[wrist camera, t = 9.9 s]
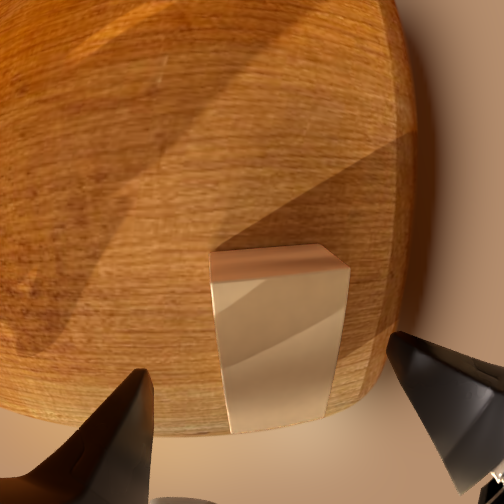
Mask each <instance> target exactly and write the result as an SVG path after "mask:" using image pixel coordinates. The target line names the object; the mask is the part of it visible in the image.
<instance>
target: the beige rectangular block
mask: <svg viewBox="0 0 504 504" xmlns="http://www.w3.org/2000/svg"><path fill="white" fill-rule="evenodd" d="M209 270H210V287H211V297H212V306H213V314H214V323H215V331H216V339H217V347H218V354H219V362H220V369H221V376H222V383H223V389H224V396H225V402H226V408H227V415H228V421H229V426H230V432H231V434H237V433H246V432H253V431H260V430H267V429H273V428H279V427H284V426H289V425H294V424H299V423H303V422H308V421H312V420H316V419H320V418H324V416H325V412H326V408H327V404H328V400H329V396H330V392H331V387H332V383H333V378H334V374H335V369H336V364H337V359H338V353H339V348H340V342H341V337H342V331H343V324H344V318H345V311H346V304H347V297H348V289H349V280H350V271H351V269H350V267H349V266H347V265H346V264H345V263H344V262H342V261H341V260H340V259H339V258H337V257H336V256H335V255H334V254H332V253H331V252H330V251H328V250H327V249H326V248H325V247H323V246H322V245H321V244H319V243H318V244H305V245H293V246H280V247H268V248H255V249H243V250H231V251H219V252H210V253H209Z"/></svg>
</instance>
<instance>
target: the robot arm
mask: <svg viewBox="0 0 504 504" xmlns="http://www.w3.org/2000/svg"><path fill="white" fill-rule="evenodd" d="M386 354H387V356H388V359H389V361H390V363H391V365H392V367H393V369H394V371H395V374H396V376H397V378H398V380H399V382H400V384H401V386H402V388H403V389H404V391H405V393H406V395H407V396H408V398H409V400H410V402H411V403H412V405H413V406H414V408H415V410H416V412H417V413H418V416H419V417H420V419H421V421H422V423H423V425H424V426H425V428H426V430H427V432H428V433H429V435H430V437H431V439H432V441H433V443H434V445H435V447H436V449H437V451H438V453H439V454H440V456H441V459H442V461H443V463H444V465H445V467H446V469H447V471H448V473H449V475H450V477H451V479H452V481H453V483H454V485H455V487H456V490H457V492H458V494H459V495H460V496H461V495H462V494H464V493H465V492H466V491H468V490H469V489H470V488H472V487H473V486H474V485H475V484H476V483H477V482H479V481H480V480H481V479H482V478H484V477H485V476H486V475H487V474H488V473H489V472H490V473H491V474H492V475H493V478H492V479H491V480H490V481H489V482H488V483H487V484H486V485H485V486H484V487H482V488H481V492H480V497H479V502H478V504H504V367H501V366H498V365H494V364H490V363H487V362H484V361H481V360H478V359H475V358H473V357H472V358H471V357H469V356H467V355H464V354H461V353H459V352H456V351H453V350H450V349H447V348H445V347H442V346H439V345H436V344H434V343H431V342H429V341H426V340H423V339H421V338H418V337H415V336H413V335H410V334H407V333H405V332H402V331H397V332H394V333H392V334H391V335H390V338H389V342H388V345H387V349H386ZM153 433H154V387H153V384H152V381H151V378H150V375H149V372H148V370H147V369H145V368H142V369H134V370H133V371H132V373H131V374H130V375H129V376H128V377H127V378H126V379H125V380H124V381H123V382H122V383H121V384H120V385H119V386H118V387H117V388H116V389H115V390H114V392H113V393H112V394H111V395H110V396H109V397H108V398H107V399H106V400H105V401H104V402H103V403H102V404H101V405H100V406H99V407H98V408H97V410H96V411H95V412H94V413H93V414H92V415H91V416H90V417H89V418H88V419H87V420H86V421H85V422H84V423H83V424H82V425H81V427H80V428H79V430H77V431H76V432H75V433H74V434H73V435H72V436H71V437H70V438H69V439H68V440H67V441H66V442H65V443H64V444H63V445H62V446H61V447H60V448H59V449H57V450H56V451H55V452H54V453H53V454H52V455H50V456H49V457H48V458H47V459H46V460H44V461H43V462H42V463H41V464H40V465H38V466H37V467H36V468H35V469H33V470H32V471H31V472H29V473H28V474H26V475H23V476H20V477H12V478H0V504H148V495H149V477H150V464H151V453H152V442H153Z"/></svg>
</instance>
